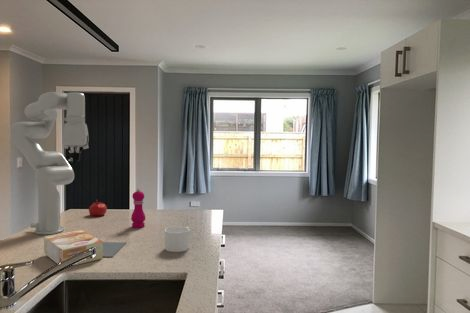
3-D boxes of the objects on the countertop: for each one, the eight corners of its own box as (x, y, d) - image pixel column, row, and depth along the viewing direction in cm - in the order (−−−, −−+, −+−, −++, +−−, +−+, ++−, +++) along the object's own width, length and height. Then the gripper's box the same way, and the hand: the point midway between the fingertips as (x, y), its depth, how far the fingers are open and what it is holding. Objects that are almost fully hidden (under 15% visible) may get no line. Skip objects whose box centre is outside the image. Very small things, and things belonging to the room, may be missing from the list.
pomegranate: (103, 217, 212) (103, 201, 212) (85, 217, 213) (85, 201, 212) (109, 213, 222) (109, 198, 222) (92, 213, 222) (92, 198, 222)
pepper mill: (132, 228, 187) (132, 189, 186) (129, 225, 194) (129, 187, 193) (147, 227, 191) (147, 188, 190) (143, 224, 197) (143, 187, 196)
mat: (60, 257, 142) (60, 256, 142) (79, 242, 161) (79, 242, 161) (112, 257, 143) (112, 256, 143) (126, 243, 162) (126, 242, 162)
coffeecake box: (82, 229, 154) (103, 240, 140) (82, 245, 154) (103, 259, 141) (43, 235, 143) (62, 249, 129) (43, 253, 144) (62, 269, 130)
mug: (178, 254, 148) (178, 234, 148) (159, 249, 154) (159, 230, 153) (199, 246, 160) (199, 227, 159) (180, 242, 165) (180, 224, 165)
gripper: (55, 119, 161) (55, 161, 162) (89, 120, 161) (89, 162, 162) (62, 120, 169) (63, 160, 169) (95, 121, 169) (95, 161, 170)
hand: (76, 161), depth 166 cm, fingers closed
